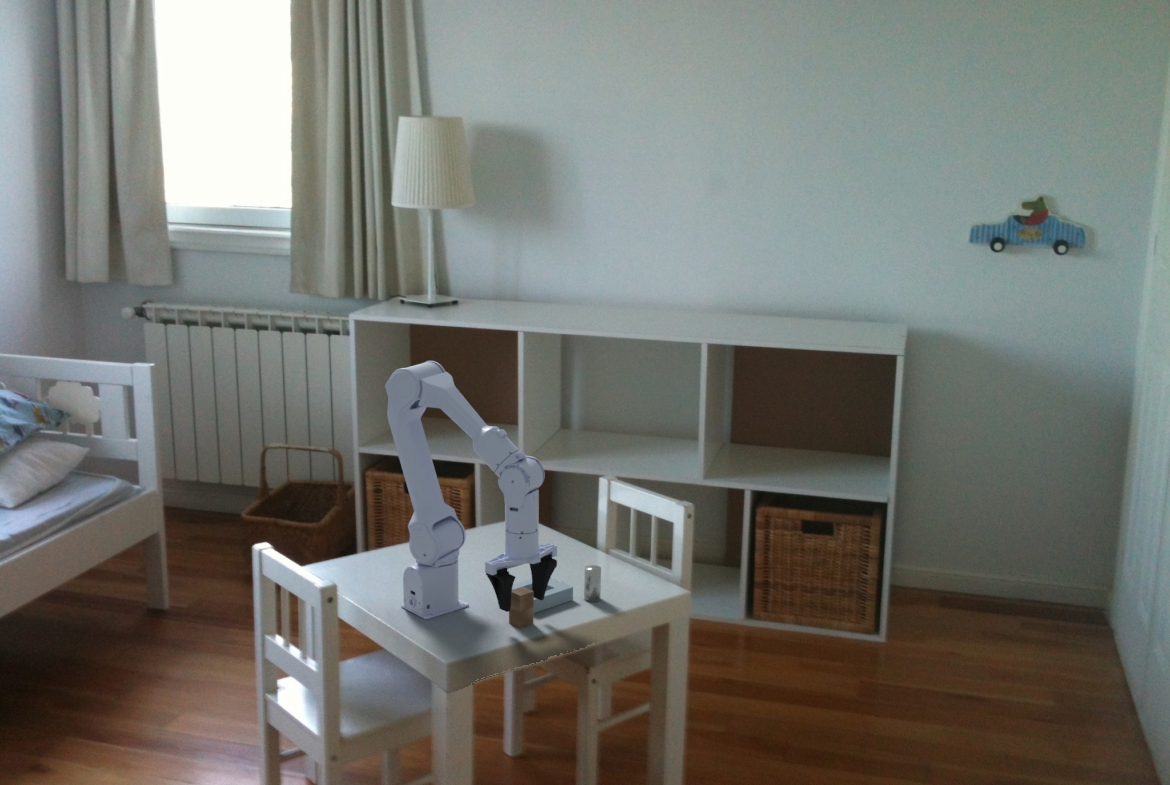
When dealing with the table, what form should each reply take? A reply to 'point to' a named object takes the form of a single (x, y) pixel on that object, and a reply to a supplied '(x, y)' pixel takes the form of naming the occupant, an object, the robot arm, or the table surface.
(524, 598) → the square bit
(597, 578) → the cylinder
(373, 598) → the table surface
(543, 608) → the socket block
